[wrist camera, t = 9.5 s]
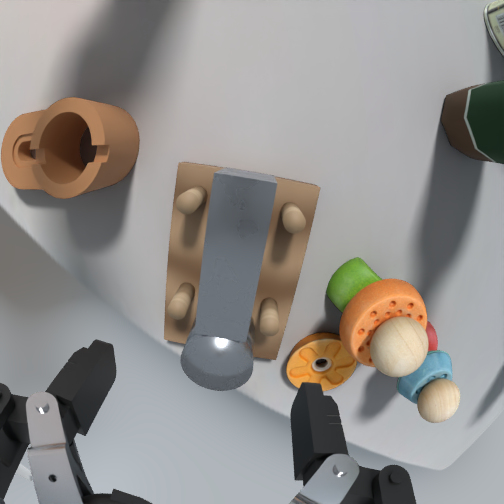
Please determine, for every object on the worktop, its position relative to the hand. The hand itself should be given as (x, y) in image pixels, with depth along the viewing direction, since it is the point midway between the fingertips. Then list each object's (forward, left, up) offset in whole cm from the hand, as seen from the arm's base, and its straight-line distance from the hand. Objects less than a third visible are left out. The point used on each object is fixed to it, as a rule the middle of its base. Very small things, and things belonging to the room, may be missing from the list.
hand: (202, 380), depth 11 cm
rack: (+2, 0, -18) cm, 18 cm away
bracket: (-7, -20, -18) cm, 28 cm away
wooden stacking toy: (+9, +17, -18) cm, 26 cm away
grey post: (0, 0, -16) cm, 16 cm away
